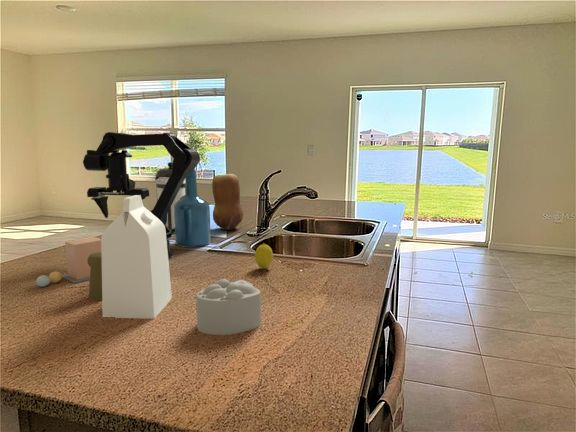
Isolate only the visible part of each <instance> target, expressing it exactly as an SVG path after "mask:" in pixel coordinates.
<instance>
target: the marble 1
mask: <svg viewBox="0 0 576 432" xmlns="http://www.w3.org/2000/svg"><path fill="white" fill-rule="evenodd" d="M35 282H36V284H37V286H38V287H41V288H42V287H43V288H44V287H47V286H48V285H49V284H50V282H51V281H50V280H49V276H47V275H45V274H41V275H40V276H38V277H37V278H36V281H35Z"/></svg>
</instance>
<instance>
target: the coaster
mask: <svg viewBox="0 0 576 432" xmlns="http://www.w3.org/2000/svg"><path fill="white" fill-rule="evenodd" d="M61 279H64V280H66V281H68V282H70V283H71V284H78V283H81V282H87V281H90V277H88V278H83V279H79V280H76V279H74V278H72V277H70V276H68V273H67V274H66V273H65V274H61Z"/></svg>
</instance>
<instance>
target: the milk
mask: <svg viewBox="0 0 576 432" xmlns="http://www.w3.org/2000/svg"><path fill="white" fill-rule="evenodd" d="M100 239H101V255H102V300H101V301H102V304H101V305H102V318H103V317H115V318H114V319H148V320H149V319H151V320H152V319H153V320H154V319H156V318H157V316H158V315H159V314H160V313H161V312H162V310H163V309H164V308H165V307H166V305H167V304H168V303H170V301H171V300H172V298H173V295H172V286H171V285H172V284H171V283H172V282H171V275H170V272H171V271H170V265H169V264H170V262H169V258H168V250H167V240H166V229H165V226H164V224H163V223H162V222H161V221H160V220H159V219H158V218H157V217H156V216H155V215H153V214H152V213H151V212H150V210H149V209H147V207H145V206H144V203H143V200H142V199H141V195H134V196H130V195H129V196H127V197H125V198H123V203H122V212H121V213H120V214H119V215H118V216H117V217H116V218H115V219H114V220H113V221H111V223H110V224H109V225H108V226H107V227H106V228H105V229H104V230H103V232H102V234H101V238H100Z"/></svg>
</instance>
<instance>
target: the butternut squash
mask: <svg viewBox="0 0 576 432" xmlns="http://www.w3.org/2000/svg"><path fill="white" fill-rule="evenodd" d="M211 185H212V195H213V199H214V206H213V210H212V220H213V222H214V224H215V225H216V226H217V227H218V228H221V230H226V231H227V230H228V231H231V230H235V228H237V227H238V226H239V224H240V223H242V221H243V219H244V218H243V217H244V215H245V214H244V212H243V208H242V206H241V188H240V181H239V178H238V176H237V175H236V174H234V173H226V174H217V175H215V176H213V178H212V184H211Z"/></svg>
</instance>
